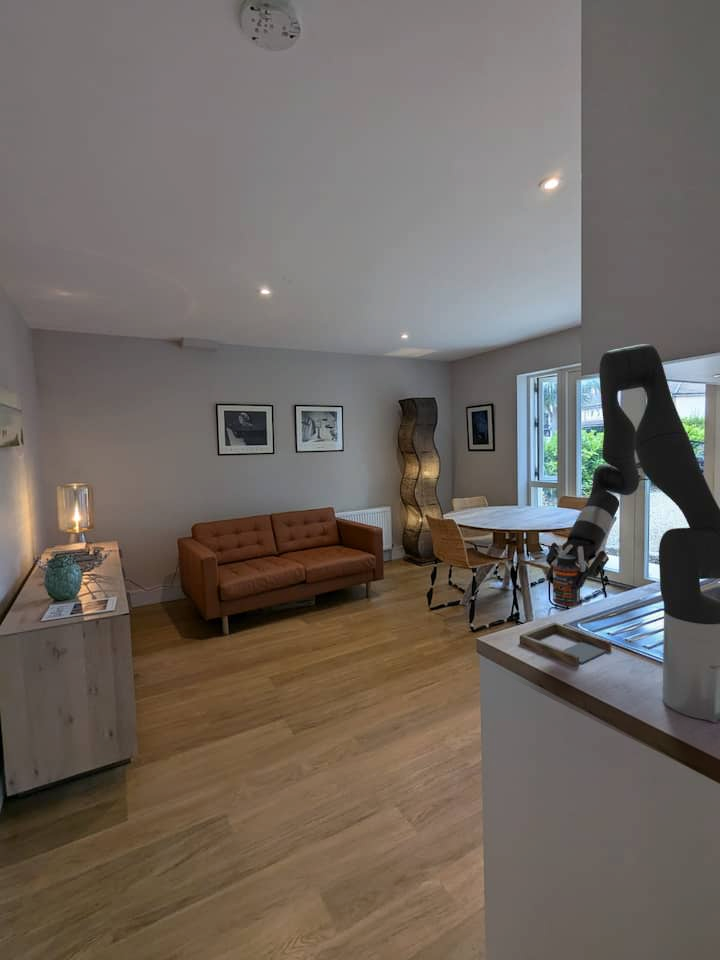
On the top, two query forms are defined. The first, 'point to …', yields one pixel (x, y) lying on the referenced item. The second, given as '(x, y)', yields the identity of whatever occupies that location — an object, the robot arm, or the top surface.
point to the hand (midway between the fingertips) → (562, 584)
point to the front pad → (585, 651)
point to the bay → (567, 657)
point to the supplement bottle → (565, 581)
